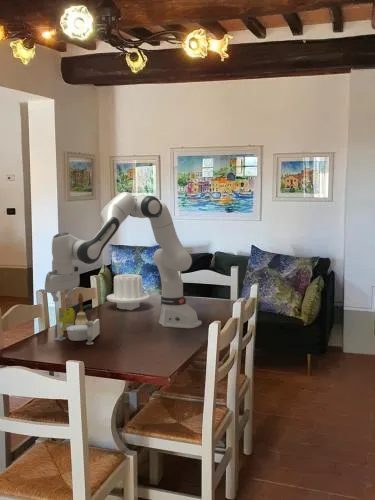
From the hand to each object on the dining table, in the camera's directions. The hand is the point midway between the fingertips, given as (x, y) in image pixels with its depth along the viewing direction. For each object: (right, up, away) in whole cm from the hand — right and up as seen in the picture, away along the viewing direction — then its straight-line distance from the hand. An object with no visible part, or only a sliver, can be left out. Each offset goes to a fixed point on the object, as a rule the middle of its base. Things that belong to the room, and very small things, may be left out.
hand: (62, 299), depth 246 cm
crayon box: (-3, -18, +26) cm, 31 cm away
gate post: (+12, -20, +2) cm, 23 cm away
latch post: (-3, -19, +10) cm, 22 cm away
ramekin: (+5, -20, +11) cm, 23 cm away
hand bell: (+1, -16, +39) cm, 42 cm away
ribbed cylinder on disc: (+21, -12, +75) cm, 79 cm away
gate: (+13, -18, +8) cm, 24 cm away
